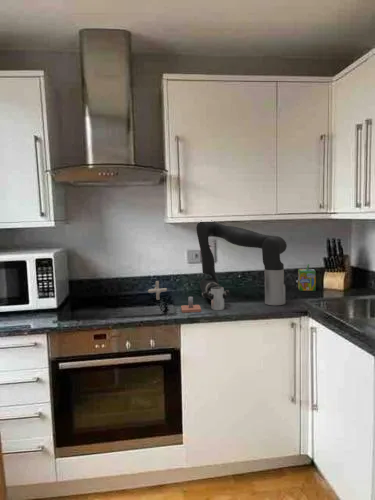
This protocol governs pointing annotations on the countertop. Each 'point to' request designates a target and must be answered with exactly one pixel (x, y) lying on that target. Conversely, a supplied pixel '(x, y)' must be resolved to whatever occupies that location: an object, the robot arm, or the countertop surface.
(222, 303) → the grey cylinder
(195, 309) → the shaft block
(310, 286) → the chalk box
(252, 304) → the countertop surface
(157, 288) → the pipe connector
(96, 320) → the countertop surface
